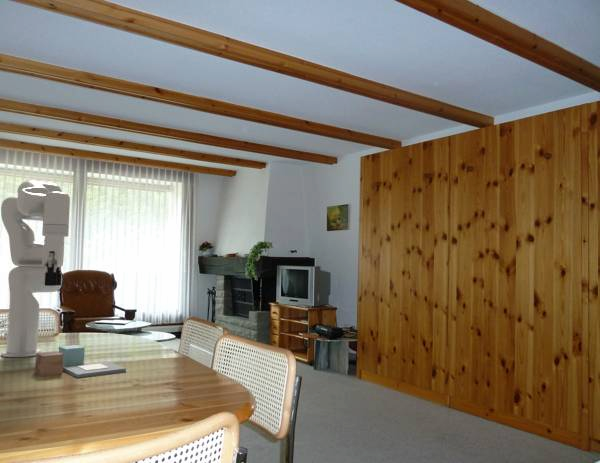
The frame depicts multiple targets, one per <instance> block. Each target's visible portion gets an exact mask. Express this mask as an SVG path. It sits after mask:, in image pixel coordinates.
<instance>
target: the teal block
mask: <svg viewBox="0 0 600 463" xmlns="http://www.w3.org/2000/svg"><path fill="white" fill-rule="evenodd" d="M58 352H60V353H62V354H63V366H68V365H77V364H85V347H84V346H81V345H78V344H74V345H72V344H71V345H63V346H62V345H61V346H58Z"/></svg>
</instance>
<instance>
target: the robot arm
mask: <svg viewBox="0 0 600 463" xmlns="http://www.w3.org/2000/svg"><path fill="white" fill-rule="evenodd" d="M62 191H63V190H62V189H61V187H60V186H59V185H58V184H57V183H54V182H45V181H36V180H27V181H24V182H21V183H20V184H19V186H18V187H17V196H10V197H7V198H5V199H3V201H2V202H1V204H0V206H1V207H0V216H1V221H2V223H3V226H4V229H5V230H6V232H7V235H8V240H9V241H8V243H9V251H10V259H11V262H12V264H13V265H14V266H16V267H13V268H12V269H11V270H10V271H9V273H8V287H9V288H8V289H9V306H8V307H9V310H8V311H9V312H8V325H7V340H6V349H5V350H2V351H1V352H0V353H1V356H2V357H5V358H28V357H36V353H42V350H41V349H40V348H37V347H38V335H39V333H38V332H39V316H40V315H39V314H40V303H39V301H38V300H37V298H36V297H35V296H34V295H33V294H34V293H55V292H58V291H59V290H60V289H61V288H62V285H63V274H62V266H63V265H64V257H65V256H64V255H65V237H66V238H67V237H69V228H70V226H69V225H70V208H71V207H70V205H71V197H70V195H69V194H67V193H66V192H62ZM23 220H25V221H26V220H27V221H40V222H41V221H42V232H41V233H42V234H41V235H42V237H43V236H44V239H43V240H44V241H43V242H41V241H40V242H39V241H37V240H36V238H35V232H34V231H33V229H32V228H31V227H30V225H28V223H26V222H24V221H23Z"/></svg>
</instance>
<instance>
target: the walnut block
mask: <svg viewBox="0 0 600 463" xmlns="http://www.w3.org/2000/svg"><path fill="white" fill-rule="evenodd" d="M34 364H35V366H34V374H36V375H38V376H40V377H46V376H55V375H62V374H63V372H64V371H63V354H62V353H60V352H59V351H57V350H54V351H45V352H42V351H41V353H36V356H35V362H34Z"/></svg>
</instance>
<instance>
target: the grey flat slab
mask: <svg viewBox="0 0 600 463" xmlns="http://www.w3.org/2000/svg"><path fill="white" fill-rule="evenodd" d="M62 372H64V373H66V374H69V375H71V376H72V377H75V378H77V379H79V378H87V377H94V376H95V377H96V376H102V375H111V374H118V373H126V372H127V368H126V367H123V366H121V365H118V364H115V363H113V362H111V361H107V360H106V361H97V362H89V363H87V362H86V363H84V364H77V365H68V366H63V371H62Z"/></svg>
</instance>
